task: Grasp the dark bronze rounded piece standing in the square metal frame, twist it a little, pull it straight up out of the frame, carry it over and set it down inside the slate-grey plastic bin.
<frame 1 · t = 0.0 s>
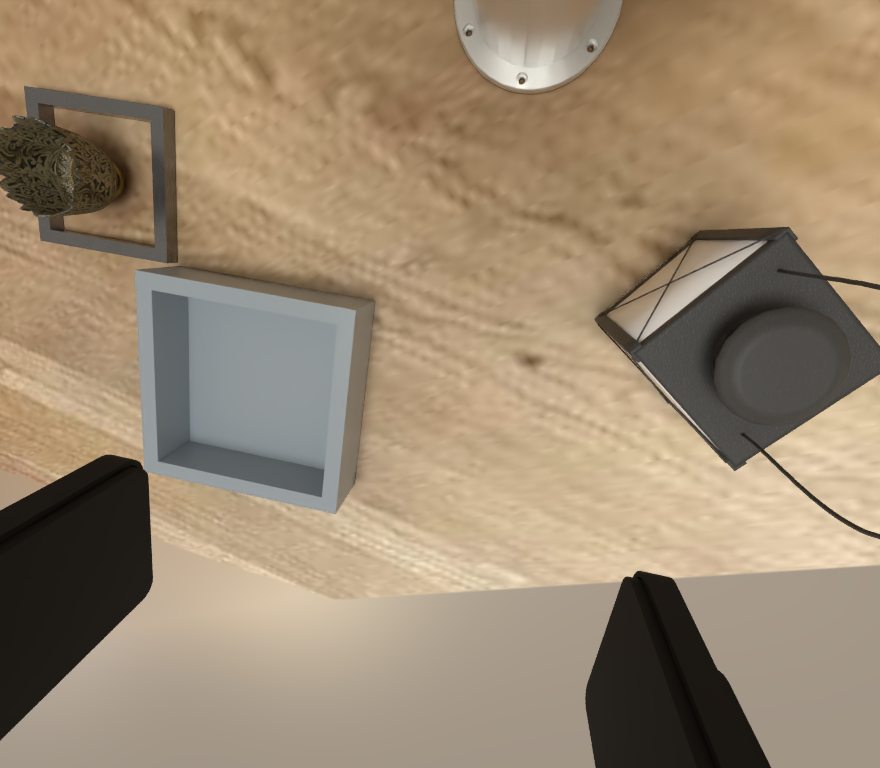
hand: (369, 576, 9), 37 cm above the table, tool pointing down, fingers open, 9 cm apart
square metal frame: (110, 179, 45), on the table
dark bronze rounded piece: (112, 179, 45), on the table
bin: (271, 379, 49), on the table
lantern: (683, 322, 42), on the table
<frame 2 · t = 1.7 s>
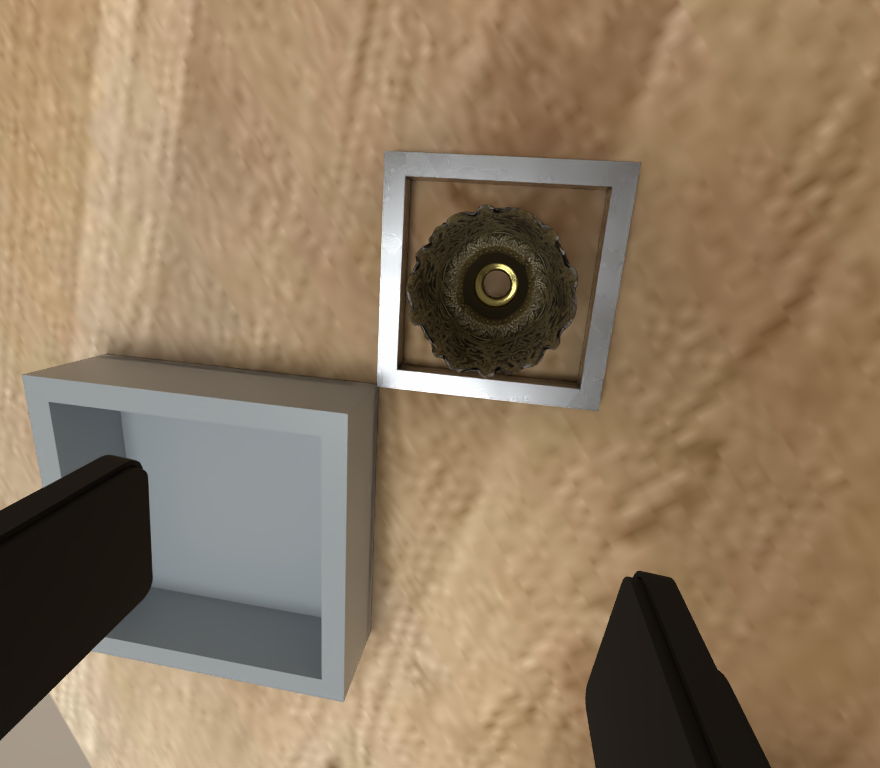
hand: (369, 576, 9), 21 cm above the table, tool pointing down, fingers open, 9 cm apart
square metal frame: (496, 284, 28), on the table
dark bronze rounded piece: (496, 284, 28), on the table
bin: (243, 498, 35), on the table
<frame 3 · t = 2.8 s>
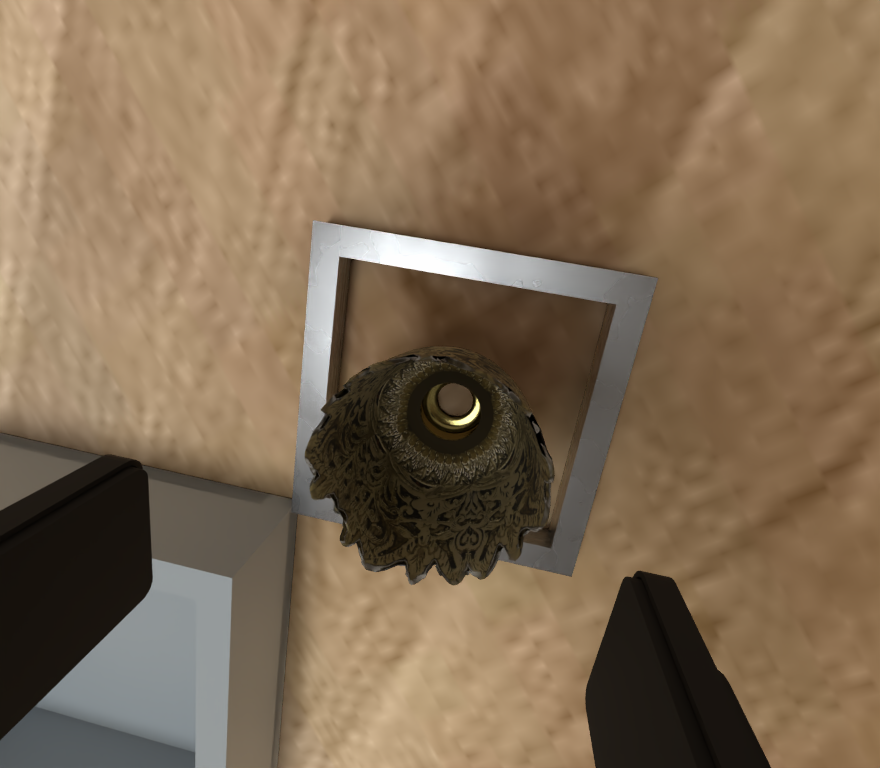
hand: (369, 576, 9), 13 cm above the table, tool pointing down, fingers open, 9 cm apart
square metal frame: (454, 399, 21), on the table
dark bronze rounded piece: (455, 398, 22), on the table
bin: (127, 610, 28), on the table
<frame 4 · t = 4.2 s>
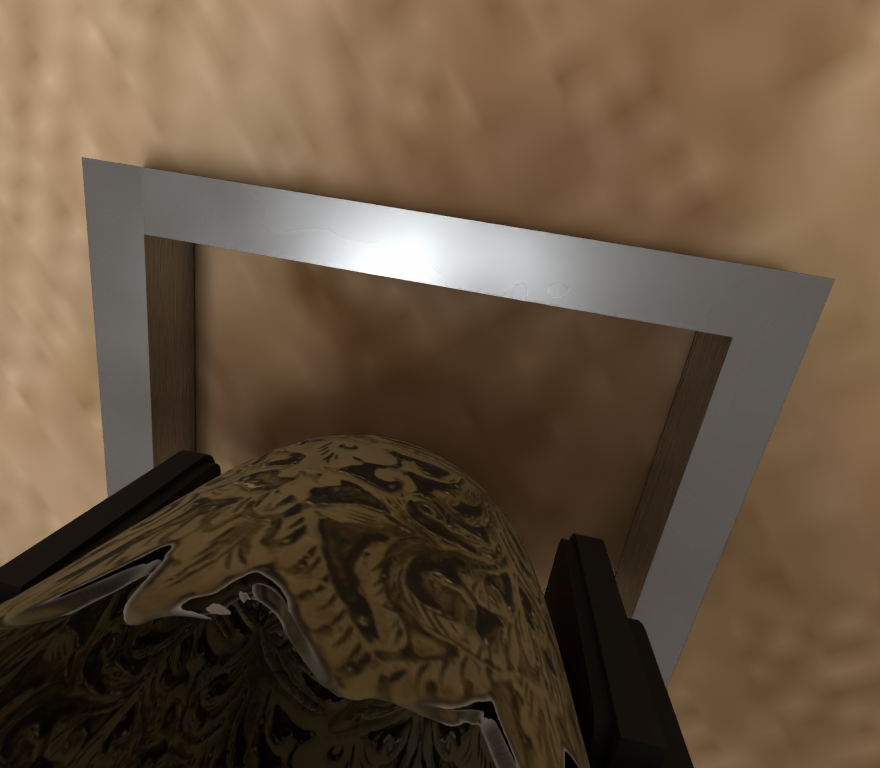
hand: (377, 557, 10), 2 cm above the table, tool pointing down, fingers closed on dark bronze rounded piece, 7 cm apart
square metal frame: (401, 499, 12), on the table
dark bronze rounded piece: (403, 494, 12), on the table, touching gripper
when the fingers open (5 cm above the table, at t = 12.2 s): dark bronze rounded piece drops 2 cm, resting on bin.
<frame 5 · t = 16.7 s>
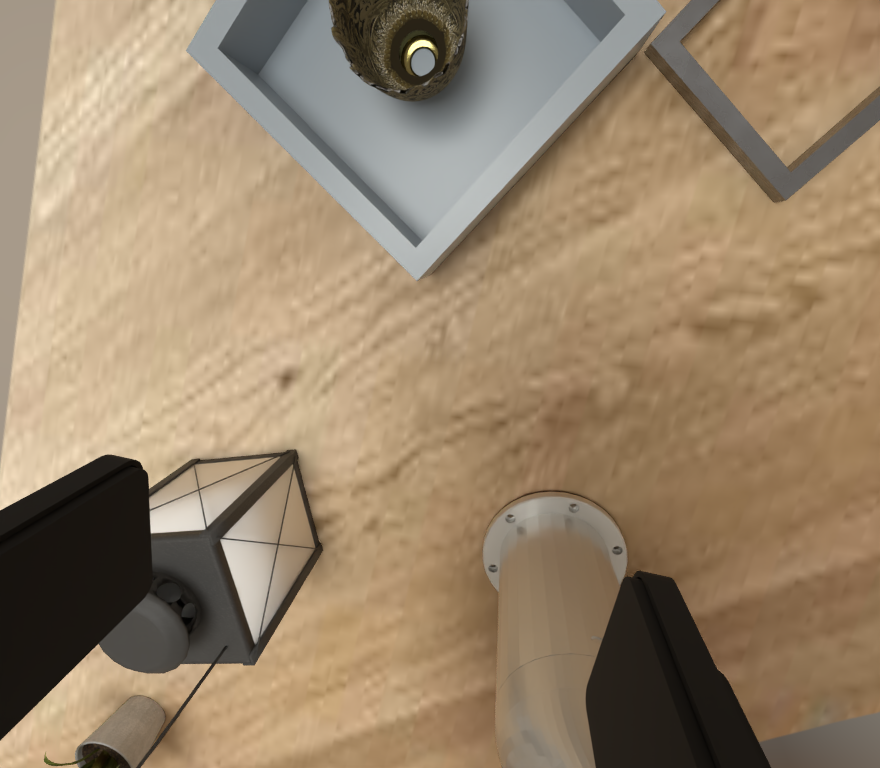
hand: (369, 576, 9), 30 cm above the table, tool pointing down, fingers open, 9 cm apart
square metal frame: (802, 41, 30), on the table
dark bronze rounded piece: (423, 63, 32), point 1 cm above the table, touching bin
house plant: (151, 718, 58), on the table
bin: (426, 67, 33), on the table
lantern: (259, 504, 46), on the table
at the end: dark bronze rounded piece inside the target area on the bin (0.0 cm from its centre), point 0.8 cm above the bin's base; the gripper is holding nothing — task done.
